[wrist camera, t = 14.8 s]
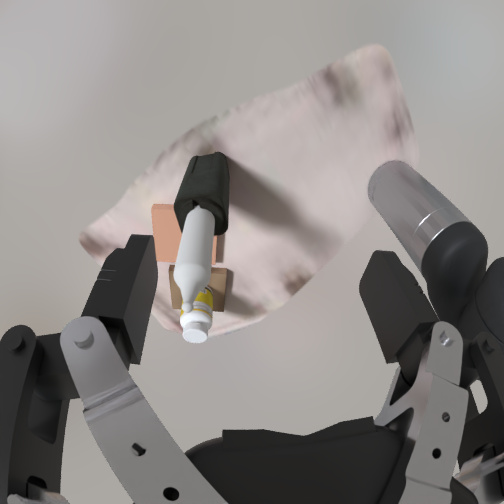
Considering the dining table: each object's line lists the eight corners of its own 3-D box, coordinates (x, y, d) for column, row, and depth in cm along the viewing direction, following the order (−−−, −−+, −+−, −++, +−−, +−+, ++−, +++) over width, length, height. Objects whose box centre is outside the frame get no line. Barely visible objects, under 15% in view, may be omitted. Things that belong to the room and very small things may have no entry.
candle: (196, 189, 40) (166, 335, 21) (187, 157, 37) (139, 290, 18) (230, 183, 40) (230, 329, 21) (224, 150, 37) (214, 280, 18)
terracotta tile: (218, 207, 43) (218, 212, 41) (215, 258, 49) (215, 264, 48) (153, 204, 41) (151, 209, 40) (157, 255, 48) (156, 261, 46)
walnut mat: (226, 268, 50) (226, 274, 49) (223, 305, 56) (223, 311, 55) (169, 265, 49) (168, 270, 48) (173, 303, 55) (172, 308, 54)
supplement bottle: (195, 305, 54) (191, 348, 46) (177, 288, 51) (170, 332, 43) (219, 296, 52) (218, 340, 45) (202, 277, 49) (198, 322, 42)
